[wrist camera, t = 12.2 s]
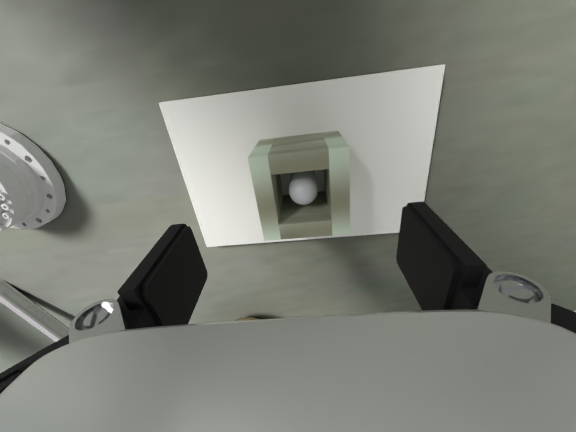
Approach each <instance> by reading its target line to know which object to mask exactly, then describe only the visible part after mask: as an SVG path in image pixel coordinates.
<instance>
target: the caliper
mask: <svg viewBox="0 0 576 432" xmlns="http://www.w3.org/2000/svg"><path fill="white" fill-rule="evenodd" d="M0 302H2V303H3V304H4V305H6V306H7V307H8V308H10V309H11V310H12V311H14V312H15V313H17V314H18V315H19V316H21V317H22V318H23V319H25V320H26V321H27V322H29V323H30V324H32V325H33V326H34V327H36V328H37V329H38V330H40V331H41V332H43V333H44V334H45V335H47V336H48V337H49V338H51V339H52V340H54V341H55V342H57V341H58V340H60V339H62V338H64V337H65V336H67V335H69V328H68V327H66V326H65V325H64V324H62V323H61V322H60V321H58V320H57V319H56V318H54V317H53V316H52V315H50V314H49V313H48V312H46V311H45V310H44V309H42V308H41V307H40V306H38V305H37V304H36V303H34V302H33V301H32V300H30V299H29V298H28V297H26V296H25V295H24V294H22V293H21V292H20V291H18V290H17V289H16V288H15V287H13V286H12V285H11V284H9V283H8V282H6V281H4V280H2V279H0Z"/></svg>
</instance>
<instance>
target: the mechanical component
mask: <svg viewBox="0 0 576 432" xmlns="http://www.w3.org/2000/svg"><path fill="white" fill-rule="evenodd" d="M65 202H66V195H65V188H64V183H63V181H62V178H61V176H60V174H59V172H58V171H57V169H56V168H55V166H54V164H53V163H52V161H51V160H50V159H49V158H48V157H47V156H46V155H45V154H44V153H43V151H42V150H41V149H40V148H39V147H38V146H37V145H36V144H34V143H33V142H32V141H30V140H29V139H28V138H26V137H25V136H24V135H22V134H21V133H20V132H18V131H16V130H14V129H12V128H9V127H7V126H5V125H3V124H1V123H0V231H2V230H5V229H7V228H9V227H11V228H17V229H33V228H38V227H40V226H42V225H44V224H46V223H48V222H50V221H52V220H53V219H55V218H57V217H58V216H59V215H60V214H61V212H62V211H63V208H64V205H65Z"/></svg>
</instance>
